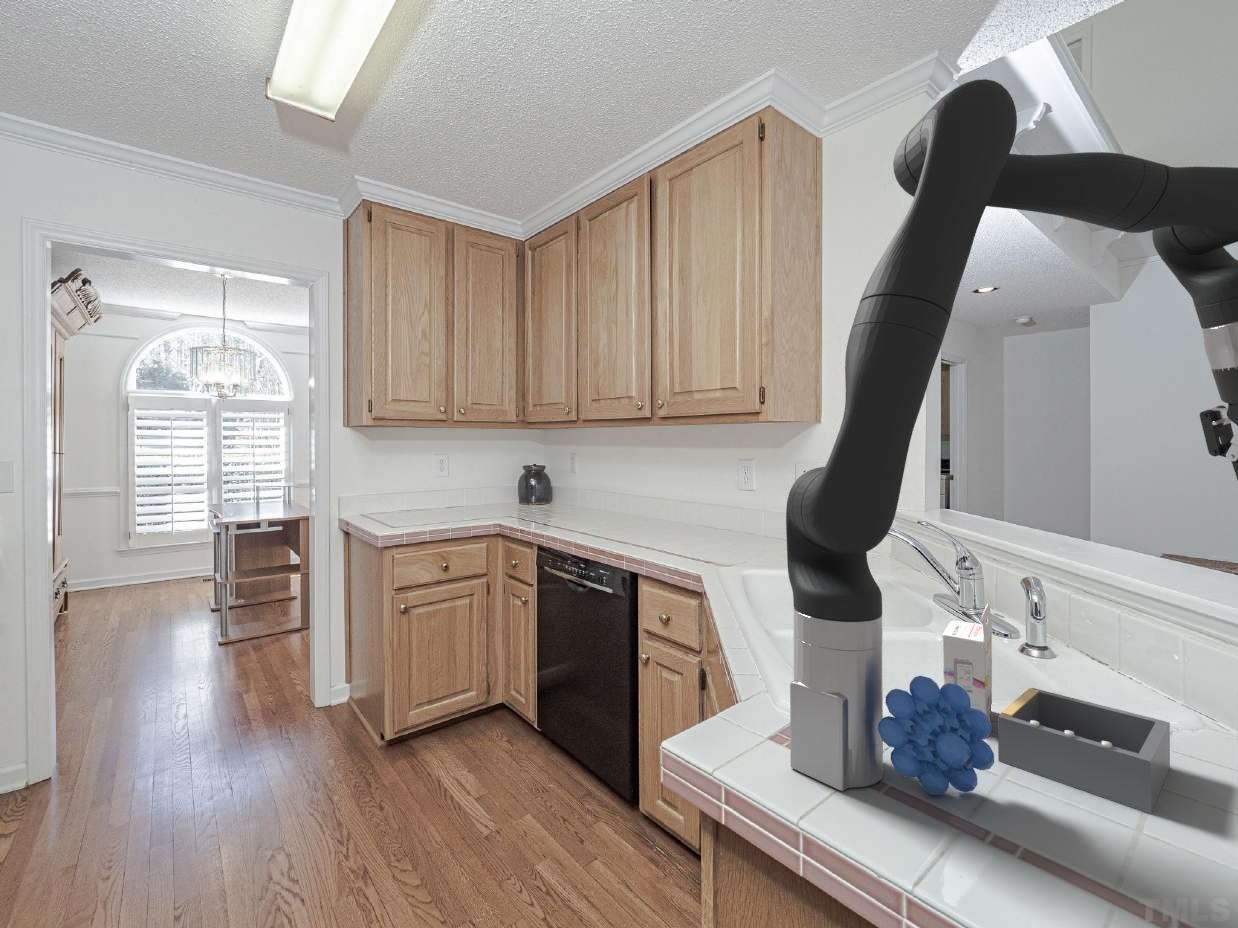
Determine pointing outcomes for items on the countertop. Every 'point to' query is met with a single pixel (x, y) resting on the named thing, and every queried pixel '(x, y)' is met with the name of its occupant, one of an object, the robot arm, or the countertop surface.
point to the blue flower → (936, 736)
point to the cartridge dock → (1087, 746)
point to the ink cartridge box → (970, 659)
